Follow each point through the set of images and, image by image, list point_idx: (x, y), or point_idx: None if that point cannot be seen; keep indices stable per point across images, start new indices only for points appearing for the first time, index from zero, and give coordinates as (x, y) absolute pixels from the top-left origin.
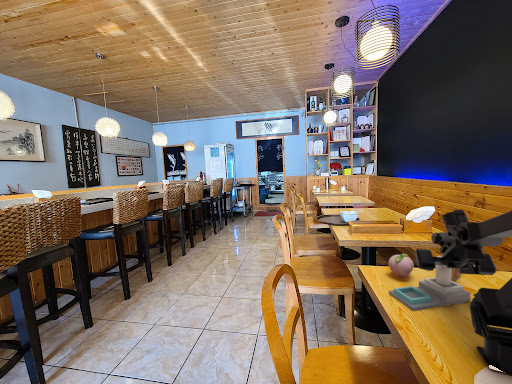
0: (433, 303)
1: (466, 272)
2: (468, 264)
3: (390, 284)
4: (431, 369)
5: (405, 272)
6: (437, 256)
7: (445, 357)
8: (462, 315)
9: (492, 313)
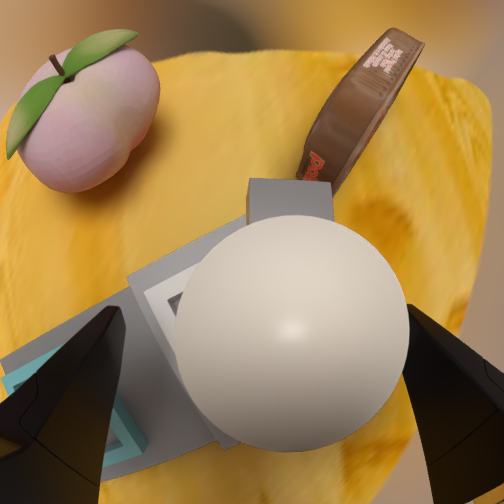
0: (154, 458)
1: (422, 418)
2: (486, 447)
3: (31, 259)
4: None
5: (78, 191)
6: (224, 246)
7: None
8: (257, 488)
9: None
